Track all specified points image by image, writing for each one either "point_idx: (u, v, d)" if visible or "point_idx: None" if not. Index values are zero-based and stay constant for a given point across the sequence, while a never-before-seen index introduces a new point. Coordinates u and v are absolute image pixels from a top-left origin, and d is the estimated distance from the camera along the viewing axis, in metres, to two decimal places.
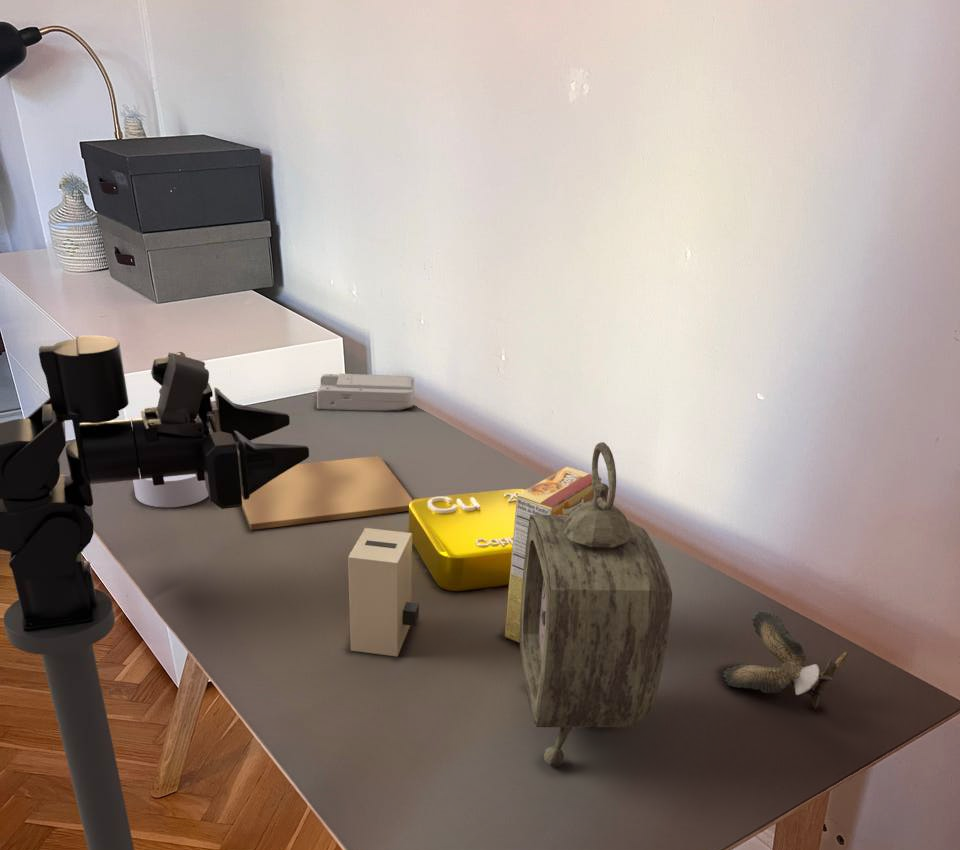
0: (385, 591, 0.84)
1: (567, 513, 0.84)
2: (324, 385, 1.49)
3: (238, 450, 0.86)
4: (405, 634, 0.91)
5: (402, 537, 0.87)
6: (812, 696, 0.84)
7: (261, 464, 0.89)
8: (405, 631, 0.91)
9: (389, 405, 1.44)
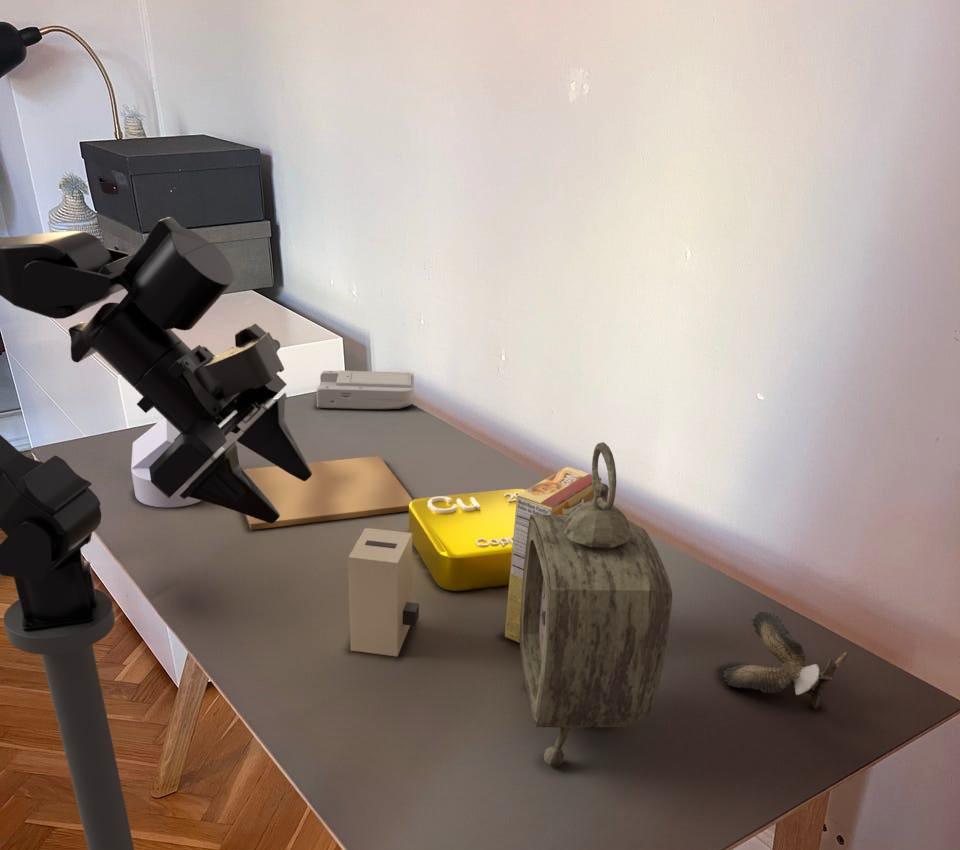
0: (385, 591, 0.84)
1: (567, 513, 0.84)
2: (324, 382, 1.48)
3: (214, 459, 0.75)
4: (405, 634, 0.91)
5: (402, 537, 0.87)
6: (812, 696, 0.84)
7: (226, 487, 0.78)
8: (405, 631, 0.91)
9: (388, 403, 1.44)
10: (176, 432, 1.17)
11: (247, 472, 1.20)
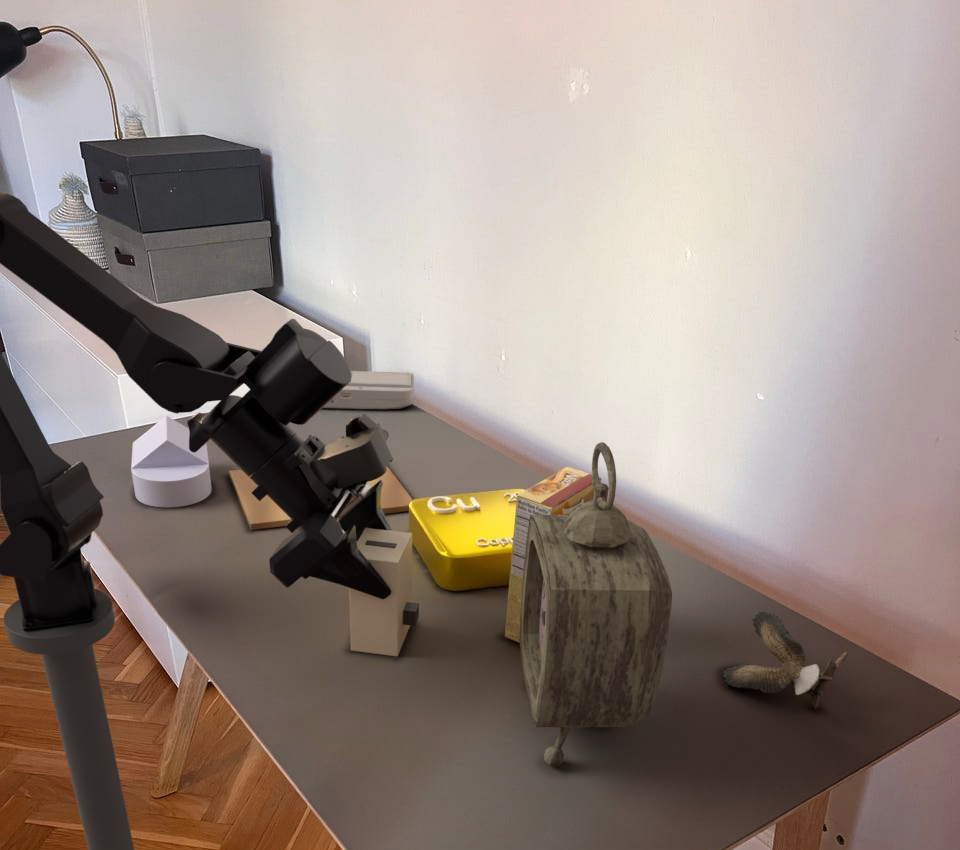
0: None
1: (567, 513, 0.84)
2: None
3: (337, 543, 0.79)
4: (405, 634, 0.91)
5: (402, 537, 0.87)
6: (812, 696, 0.84)
7: (343, 566, 0.82)
8: (405, 631, 0.91)
9: (388, 403, 1.44)
10: (176, 432, 1.17)
11: None
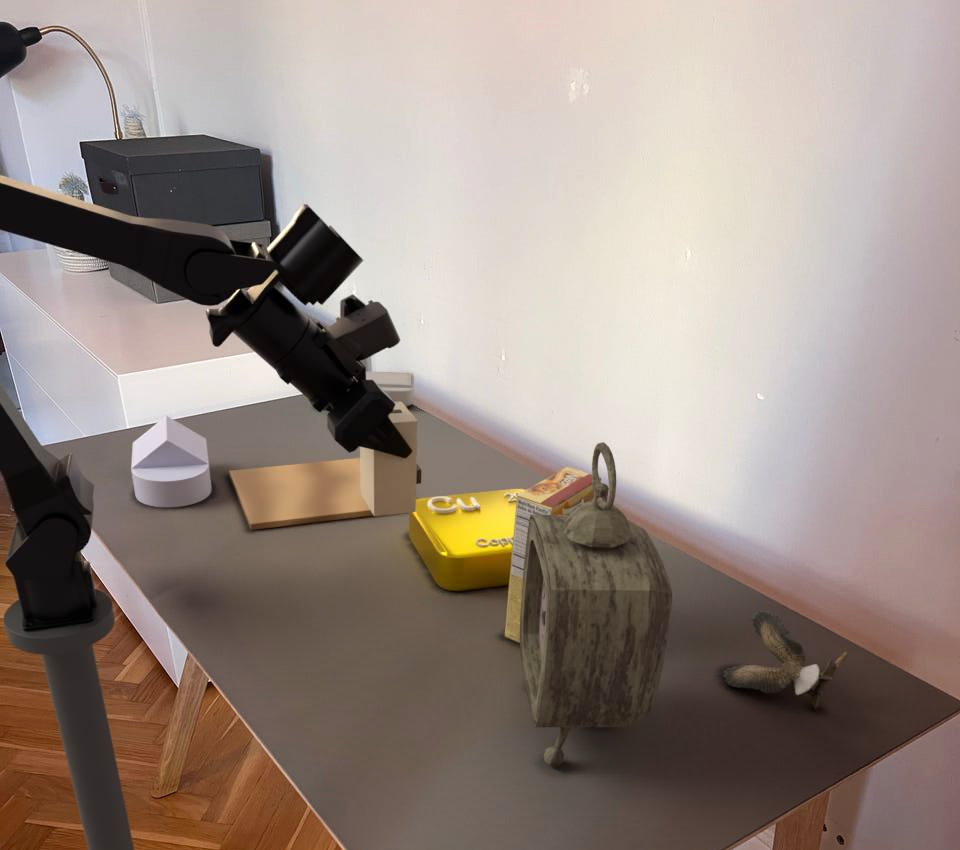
0: None
1: (567, 513, 0.84)
2: None
3: None
4: None
5: (398, 405, 0.97)
6: (812, 696, 0.84)
7: (376, 431, 0.91)
8: None
9: None
10: (176, 432, 1.17)
11: (247, 472, 1.20)
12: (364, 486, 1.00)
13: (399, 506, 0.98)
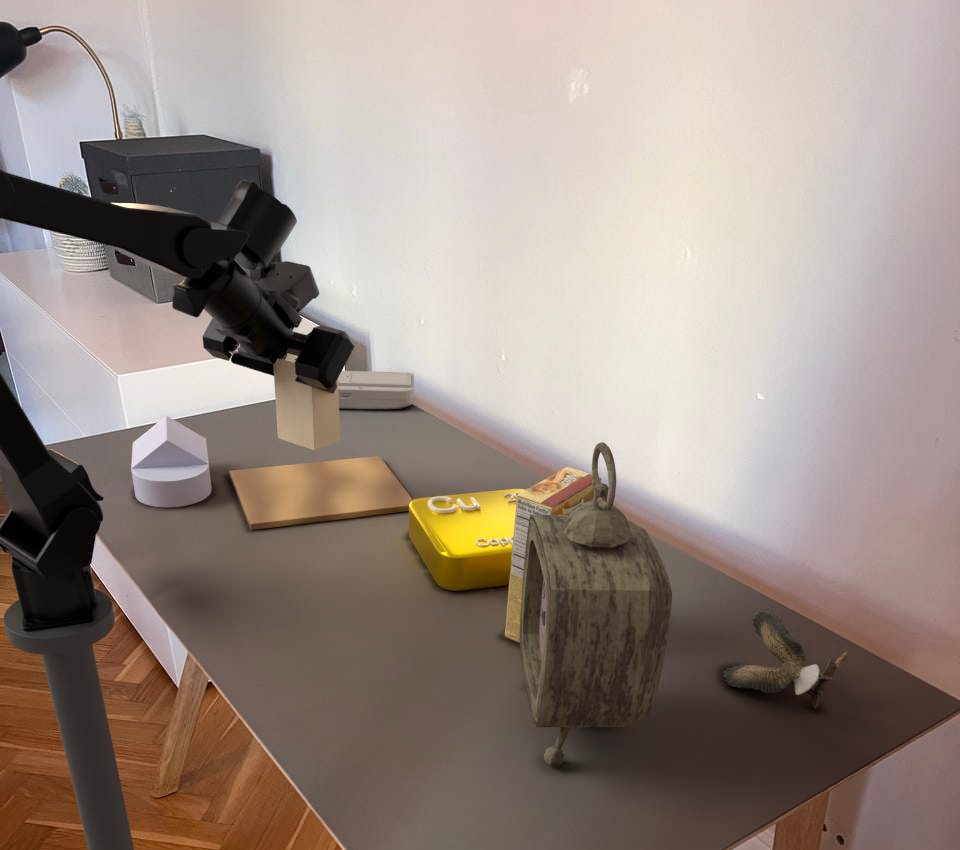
0: None
1: (567, 513, 0.84)
2: None
3: None
4: None
5: None
6: (812, 696, 0.84)
7: None
8: None
9: (388, 403, 1.44)
10: (176, 432, 1.17)
11: (247, 472, 1.20)
12: (288, 429, 1.13)
13: (329, 437, 1.13)
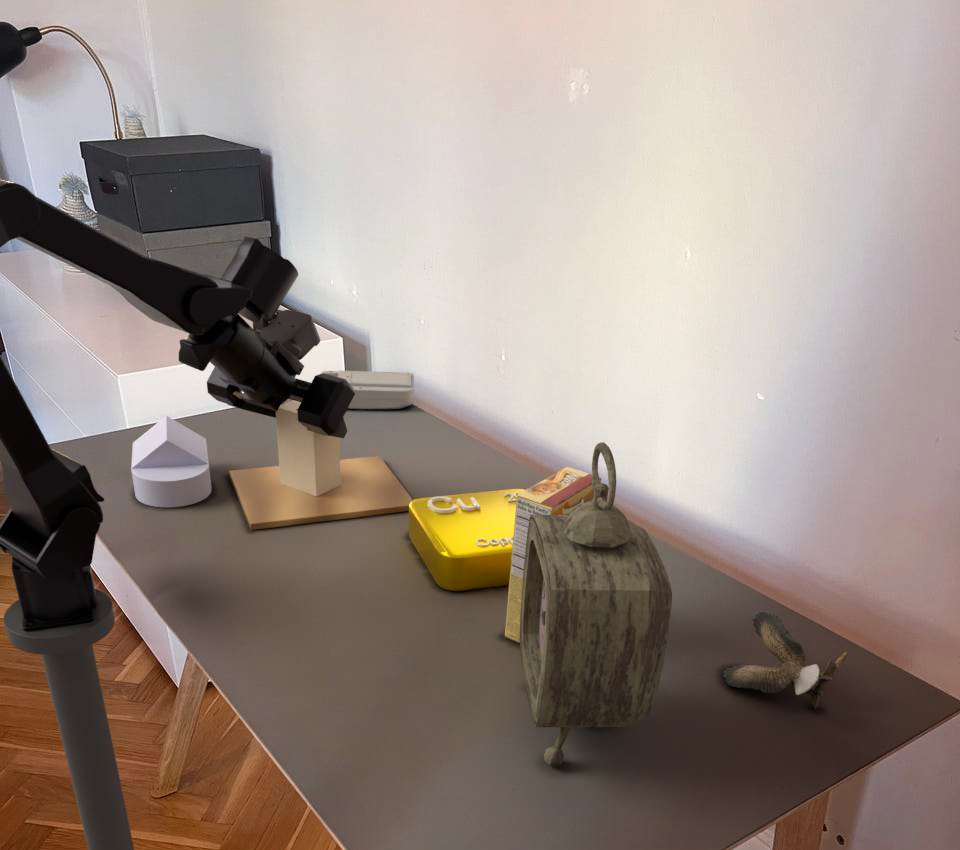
0: None
1: (567, 513, 0.84)
2: None
3: None
4: None
5: None
6: (812, 696, 0.84)
7: None
8: None
9: (388, 403, 1.44)
10: (176, 432, 1.17)
11: (247, 472, 1.20)
12: (291, 476, 1.16)
13: (331, 483, 1.17)
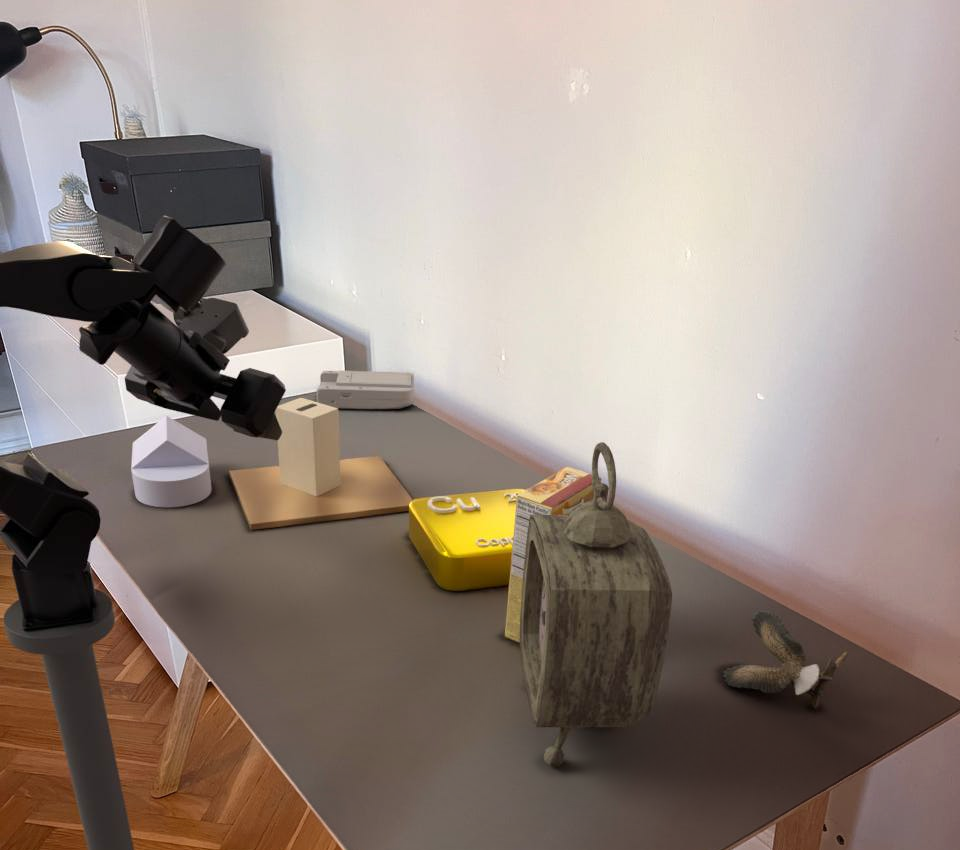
0: (333, 434, 1.14)
1: (567, 513, 0.84)
2: (324, 382, 1.48)
3: None
4: None
5: (304, 400, 1.15)
6: (812, 696, 0.84)
7: None
8: None
9: (388, 403, 1.44)
10: (176, 432, 1.17)
11: (247, 472, 1.20)
12: (291, 476, 1.16)
13: (331, 483, 1.17)
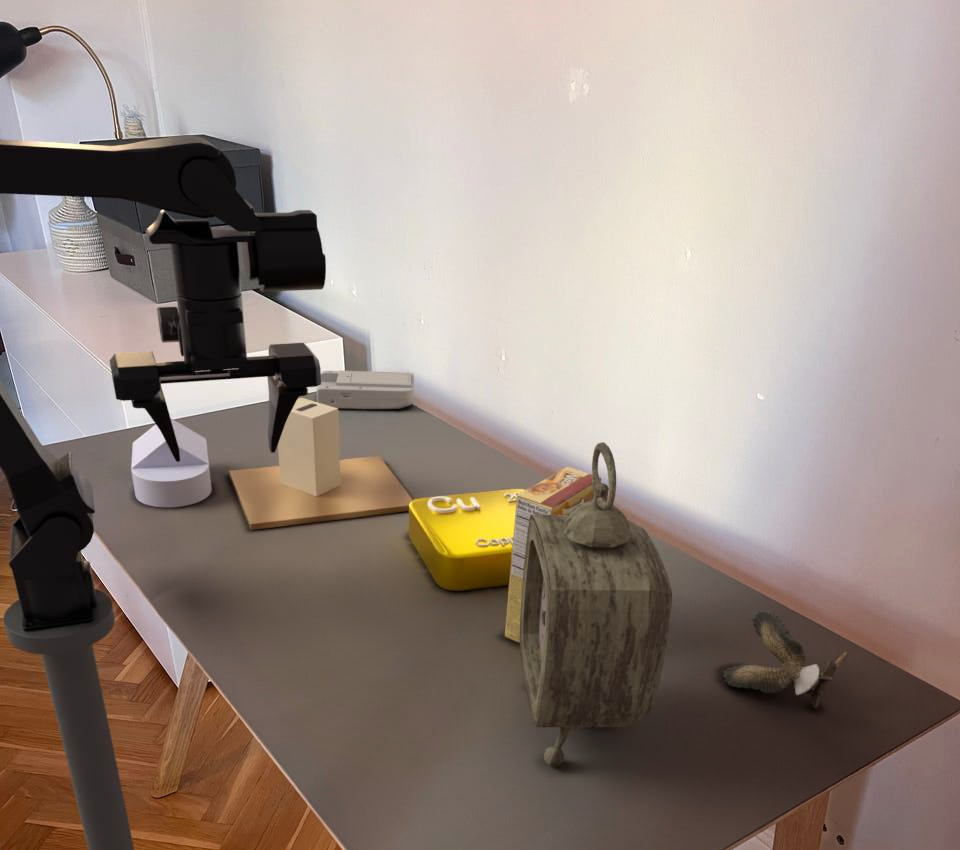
0: (333, 434, 1.14)
1: (567, 513, 0.84)
2: (324, 382, 1.48)
3: None
4: None
5: (304, 400, 1.15)
6: (812, 696, 0.84)
7: None
8: None
9: (388, 403, 1.44)
10: (176, 432, 1.17)
11: (247, 472, 1.20)
12: (291, 476, 1.16)
13: (331, 483, 1.17)
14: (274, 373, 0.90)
